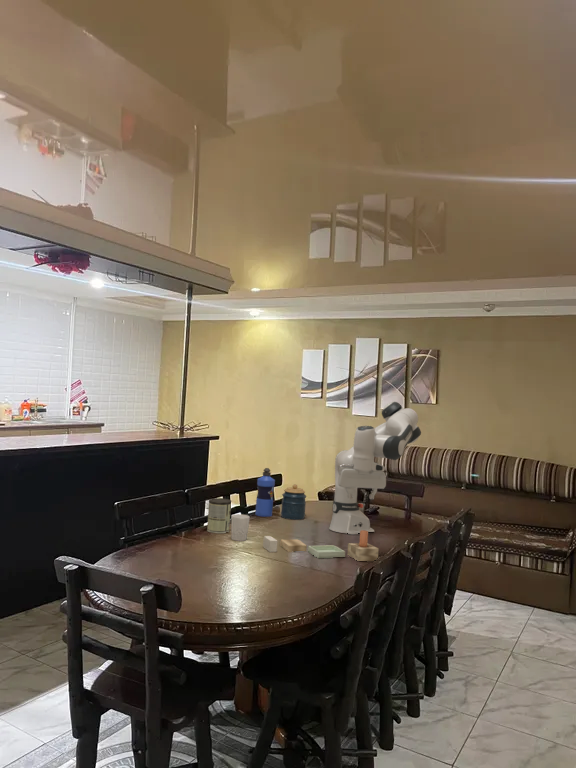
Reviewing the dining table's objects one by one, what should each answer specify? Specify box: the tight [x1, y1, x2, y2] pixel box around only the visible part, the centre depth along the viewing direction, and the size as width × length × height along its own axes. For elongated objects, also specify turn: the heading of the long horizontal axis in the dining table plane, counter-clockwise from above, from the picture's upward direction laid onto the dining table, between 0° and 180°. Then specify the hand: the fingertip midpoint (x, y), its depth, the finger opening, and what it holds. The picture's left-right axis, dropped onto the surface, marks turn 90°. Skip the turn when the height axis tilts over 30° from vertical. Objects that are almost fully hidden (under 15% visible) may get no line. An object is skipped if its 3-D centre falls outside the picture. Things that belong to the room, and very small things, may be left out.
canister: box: [280, 484, 307, 521], centre depth 309 cm, size 13×13×18 cm
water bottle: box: [255, 467, 276, 518], centre depth 311 cm, size 9×9×25 cm
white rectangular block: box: [262, 535, 278, 553], centre depth 239 cm, size 3×8×4 cm, turn 23°
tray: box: [307, 544, 346, 559], centre depth 237 cm, size 12×10×2 cm
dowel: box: [358, 530, 369, 547], centre depth 235 cm, size 3×3×11 cm
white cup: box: [230, 513, 251, 542], centre depth 253 cm, size 8×8×10 cm
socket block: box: [346, 542, 380, 562], centre depth 235 cm, size 9×9×5 cm
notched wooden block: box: [279, 539, 308, 553], centre depth 243 cm, size 8×10×3 cm
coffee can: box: [206, 497, 232, 534], centre depth 266 cm, size 10×10×14 cm
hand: (360, 498), depth 239 cm, fingers open, 8 cm apart
